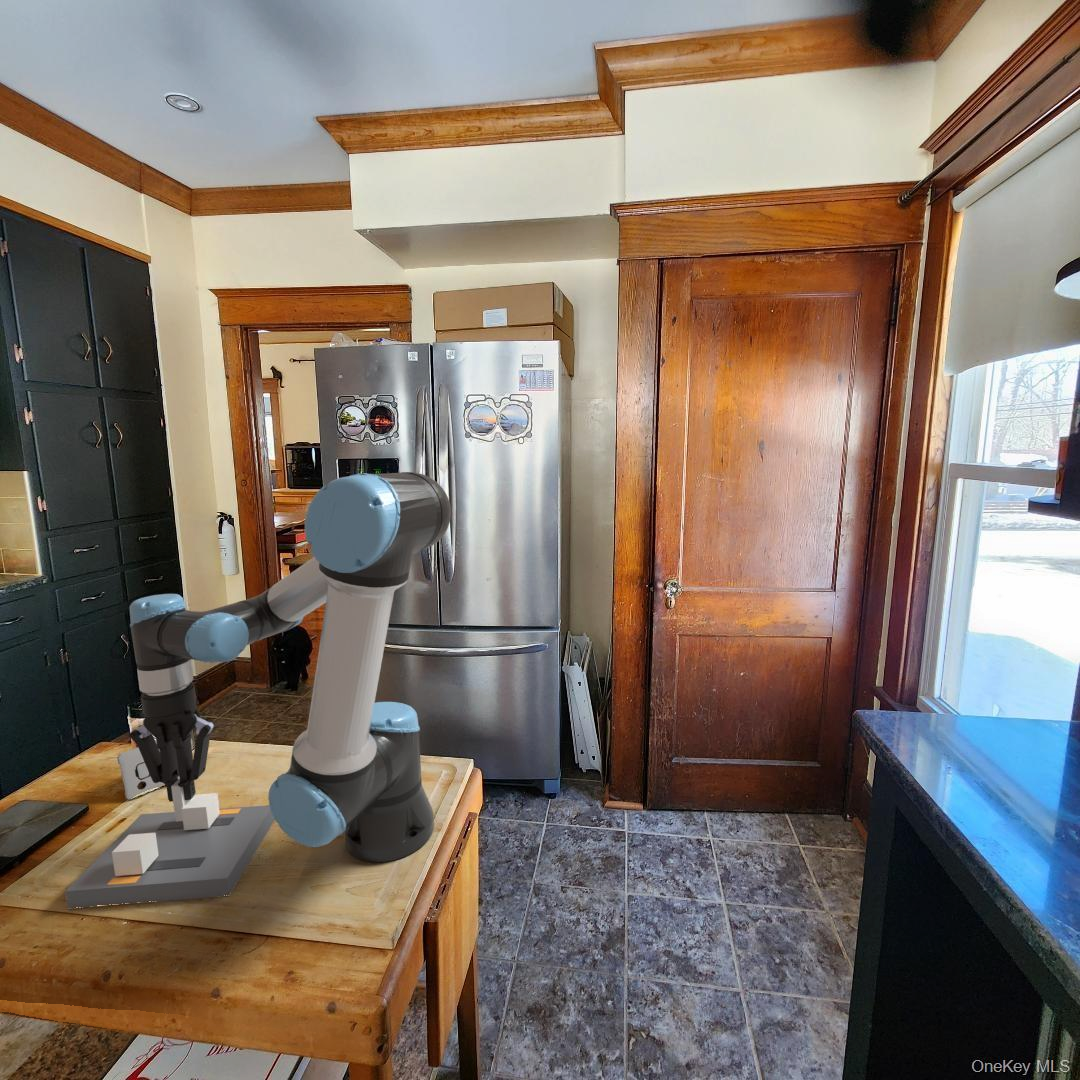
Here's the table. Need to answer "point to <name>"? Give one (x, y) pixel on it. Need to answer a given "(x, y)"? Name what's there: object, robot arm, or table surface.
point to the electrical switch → (135, 773)
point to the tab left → (135, 854)
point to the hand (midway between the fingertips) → (184, 816)
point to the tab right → (200, 811)
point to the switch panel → (178, 860)
